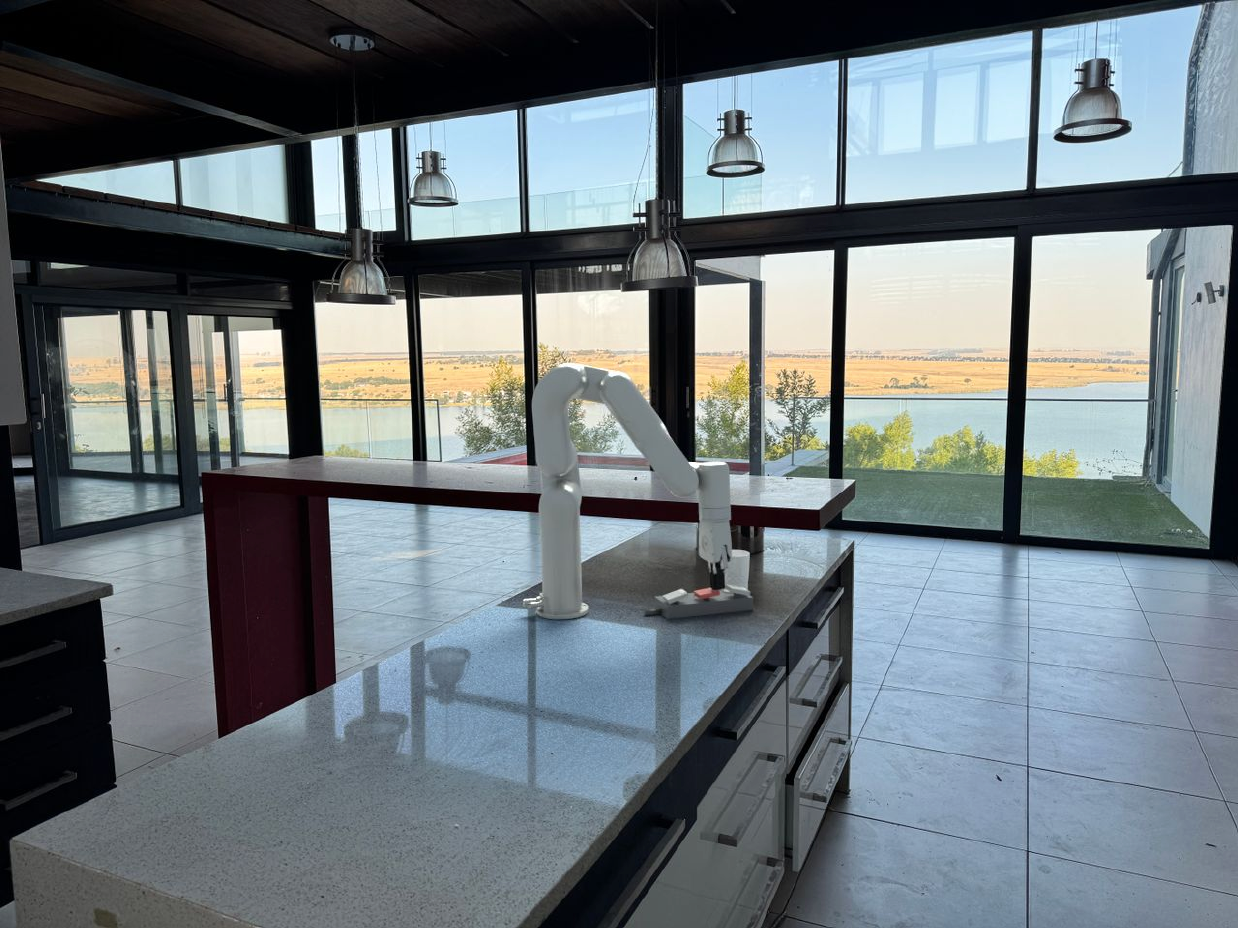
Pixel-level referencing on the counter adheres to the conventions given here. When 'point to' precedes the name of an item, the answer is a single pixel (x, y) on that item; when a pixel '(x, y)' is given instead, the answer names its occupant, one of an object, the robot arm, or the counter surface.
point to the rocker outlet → (737, 590)
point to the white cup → (738, 569)
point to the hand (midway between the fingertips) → (717, 588)
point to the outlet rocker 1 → (675, 596)
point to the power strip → (702, 605)
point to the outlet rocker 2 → (706, 593)
